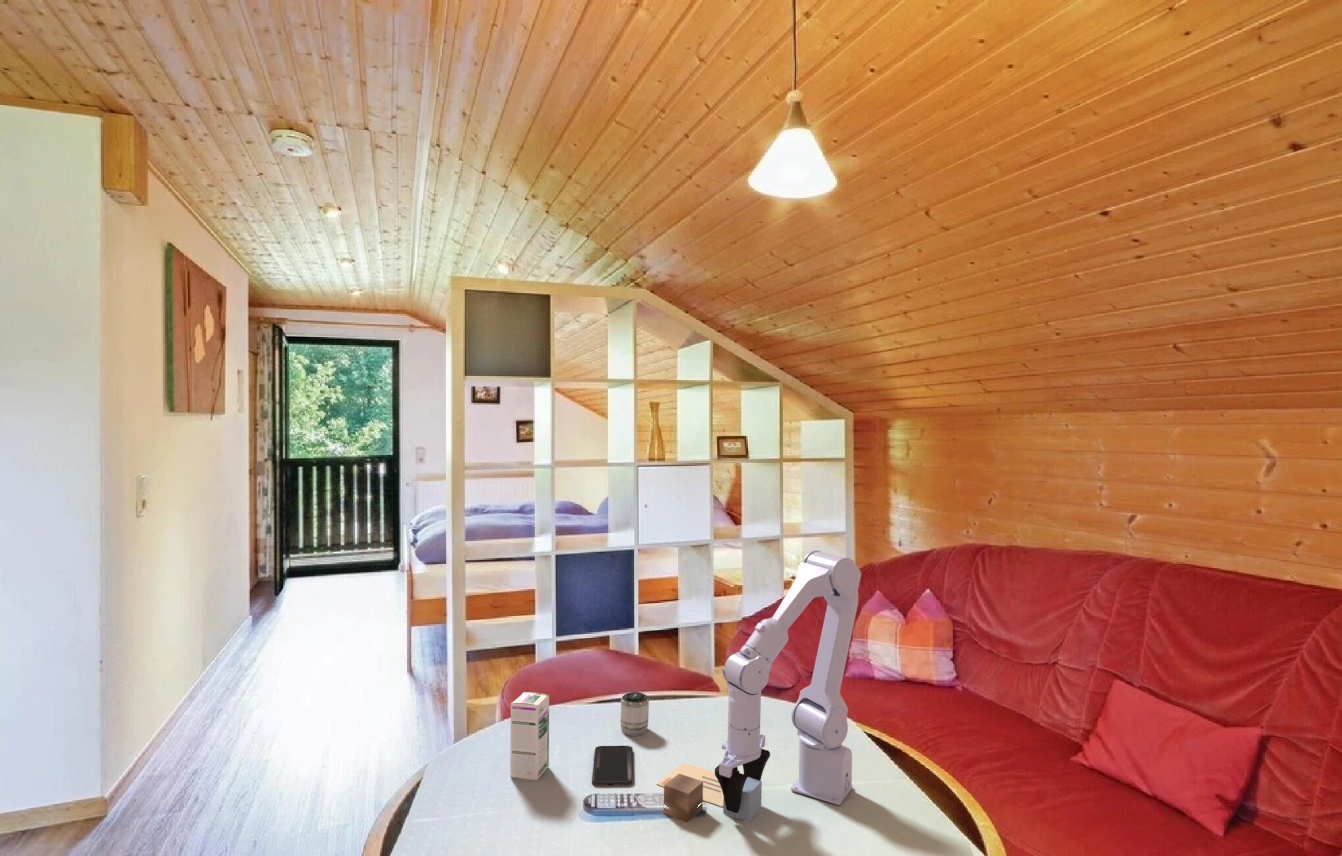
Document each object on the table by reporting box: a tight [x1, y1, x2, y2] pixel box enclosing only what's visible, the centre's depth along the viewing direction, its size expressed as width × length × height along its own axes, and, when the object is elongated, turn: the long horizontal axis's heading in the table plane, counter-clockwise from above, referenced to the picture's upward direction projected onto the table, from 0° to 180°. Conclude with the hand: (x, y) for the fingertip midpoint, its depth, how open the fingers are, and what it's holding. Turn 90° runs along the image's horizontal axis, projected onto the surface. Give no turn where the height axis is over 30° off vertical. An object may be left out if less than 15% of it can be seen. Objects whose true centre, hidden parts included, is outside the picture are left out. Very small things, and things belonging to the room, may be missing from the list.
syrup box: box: [509, 691, 550, 782], centre depth 134 cm, size 6×6×14 cm
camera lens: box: [619, 691, 650, 737], centre depth 153 cm, size 6×6×8 cm
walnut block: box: [663, 774, 704, 823], centre depth 121 cm, size 5×5×5 cm
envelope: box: [655, 762, 724, 808], centre depth 130 cm, size 14×10×1 cm
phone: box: [591, 745, 634, 787], centre depth 136 cm, size 8×1×15 cm
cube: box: [722, 777, 763, 823], centre depth 121 cm, size 5×5×5 cm
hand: (742, 800), depth 121 cm, fingers open, 7 cm apart
